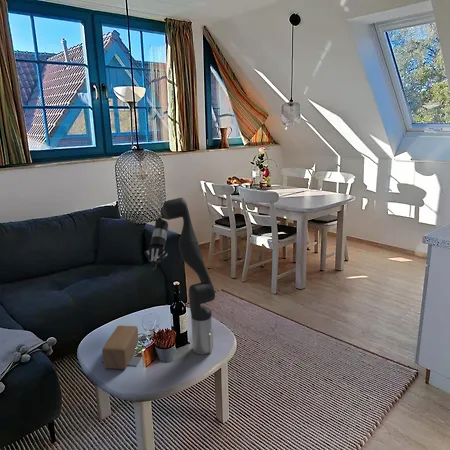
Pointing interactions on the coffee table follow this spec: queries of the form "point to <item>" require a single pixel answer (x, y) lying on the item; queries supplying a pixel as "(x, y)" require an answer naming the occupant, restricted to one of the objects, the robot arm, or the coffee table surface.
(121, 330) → the wooden block
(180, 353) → the coffee table surface
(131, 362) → the slate mat
